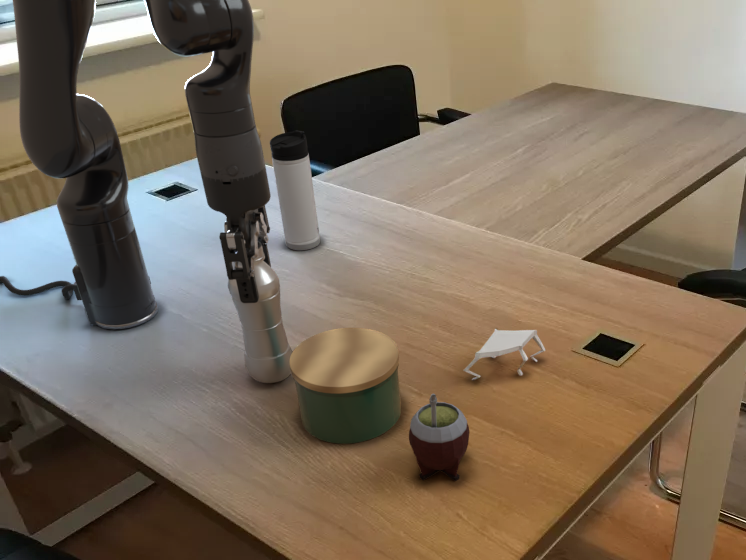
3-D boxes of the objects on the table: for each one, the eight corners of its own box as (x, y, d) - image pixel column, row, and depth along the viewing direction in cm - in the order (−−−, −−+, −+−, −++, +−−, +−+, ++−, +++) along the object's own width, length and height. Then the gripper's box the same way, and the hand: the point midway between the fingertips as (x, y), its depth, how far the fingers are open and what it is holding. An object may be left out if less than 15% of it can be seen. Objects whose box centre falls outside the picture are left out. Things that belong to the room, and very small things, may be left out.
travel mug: (328, 240, 149) (315, 133, 138) (303, 253, 145) (287, 144, 133) (304, 232, 152) (288, 127, 141) (278, 245, 148) (260, 137, 136)
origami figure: (502, 342, 121) (502, 314, 118) (547, 361, 116) (549, 332, 114) (449, 378, 113) (448, 348, 110) (496, 400, 109) (495, 370, 106)
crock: (291, 446, 101) (280, 388, 95) (307, 383, 112) (298, 328, 107) (400, 443, 101) (395, 385, 96) (405, 381, 112) (401, 326, 107)
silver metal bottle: (285, 391, 110) (260, 259, 99) (239, 386, 111) (210, 254, 100) (304, 365, 115) (282, 237, 104) (260, 360, 116) (234, 233, 105)
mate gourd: (444, 441, 102) (439, 340, 93) (486, 471, 97) (485, 368, 88) (397, 467, 97) (387, 365, 89) (438, 501, 93) (432, 396, 84)
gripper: (214, 146, 102) (239, 262, 111) (184, 188, 90) (215, 314, 99) (274, 144, 102) (294, 260, 111) (252, 187, 90) (276, 312, 100)
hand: (256, 285), depth 105 cm, fingers open, 8 cm apart
